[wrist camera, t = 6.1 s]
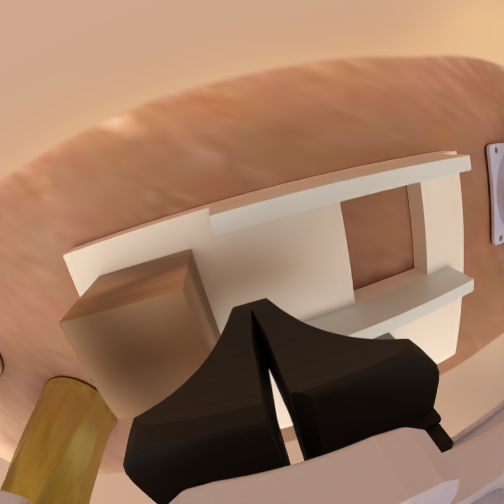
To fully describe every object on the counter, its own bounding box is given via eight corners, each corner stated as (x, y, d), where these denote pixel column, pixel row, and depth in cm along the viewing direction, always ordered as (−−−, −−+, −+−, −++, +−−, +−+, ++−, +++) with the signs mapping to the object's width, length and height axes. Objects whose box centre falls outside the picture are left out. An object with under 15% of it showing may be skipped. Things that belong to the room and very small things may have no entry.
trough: (440, 153, 15) (469, 155, 12) (448, 277, 17) (473, 290, 15) (209, 207, 14) (208, 216, 11) (252, 349, 16) (259, 377, 14)
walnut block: (191, 248, 14) (182, 289, 9) (221, 336, 16) (227, 400, 11) (99, 275, 14) (58, 322, 9) (136, 356, 15) (117, 419, 11)
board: (441, 150, 16) (456, 151, 15) (444, 345, 21) (455, 353, 19) (74, 247, 15) (62, 255, 13) (172, 437, 19) (171, 451, 18)
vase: (86, 368, 17) (15, 554, 3) (131, 427, 19) (108, 595, 5) (31, 381, 17) (-42, 523, 3) (75, 435, 19) (36, 573, 5)
